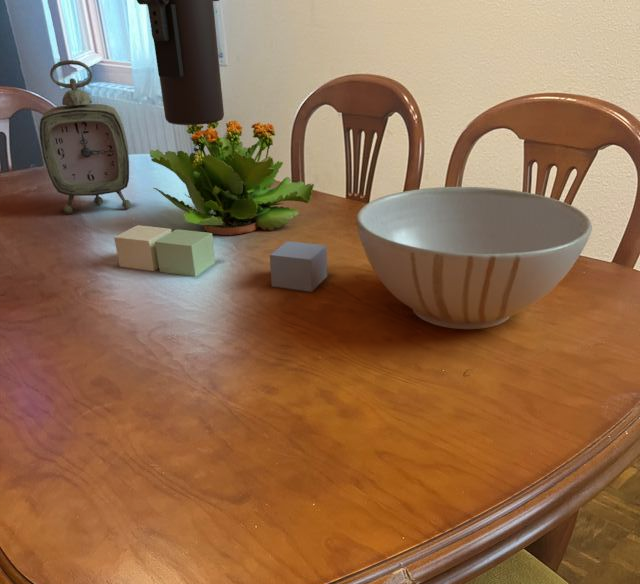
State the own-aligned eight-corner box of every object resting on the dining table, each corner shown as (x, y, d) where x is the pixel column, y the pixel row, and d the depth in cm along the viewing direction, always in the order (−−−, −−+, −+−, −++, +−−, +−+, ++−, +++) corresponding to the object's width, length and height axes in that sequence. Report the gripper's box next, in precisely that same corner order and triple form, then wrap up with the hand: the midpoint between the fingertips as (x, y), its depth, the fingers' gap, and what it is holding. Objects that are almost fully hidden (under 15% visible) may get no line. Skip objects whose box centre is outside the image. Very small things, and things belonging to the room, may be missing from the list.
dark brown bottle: (235, 117, 78) (216, -98, 67) (203, 127, 73) (177, -103, 62) (187, 114, 81) (162, -93, 69) (154, 124, 75) (120, -98, 64)
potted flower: (241, 261, 100) (229, 138, 91) (126, 239, 110) (105, 126, 101) (321, 217, 118) (319, 111, 109) (216, 202, 128) (206, 103, 119)
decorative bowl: (451, 385, 68) (463, 274, 62) (316, 300, 87) (313, 208, 81) (619, 323, 80) (644, 223, 73) (467, 260, 99) (476, 176, 92)
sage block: (160, 275, 96) (154, 241, 94) (181, 261, 101) (176, 229, 98) (196, 279, 95) (191, 245, 92) (216, 265, 99) (212, 232, 96)
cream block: (120, 269, 99) (113, 237, 96) (143, 256, 103) (137, 224, 100) (154, 274, 97) (148, 241, 94) (176, 260, 101) (171, 228, 99)
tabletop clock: (57, 217, 122) (20, 64, 108) (61, 204, 129) (27, 59, 115) (137, 210, 124) (111, 60, 110) (137, 198, 132) (112, 56, 118)
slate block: (271, 290, 91) (269, 254, 88) (288, 274, 95) (287, 240, 93) (312, 295, 89) (310, 259, 86) (327, 279, 94) (327, 245, 91)
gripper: (126, -239, 52) (169, 84, 65) (241, -192, 67) (258, 63, 80) (51, -227, 55) (107, 82, 68) (178, -184, 70) (204, 62, 83)
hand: (189, 71), depth 74 cm, fingers closed on dark brown bottle, 7 cm apart
